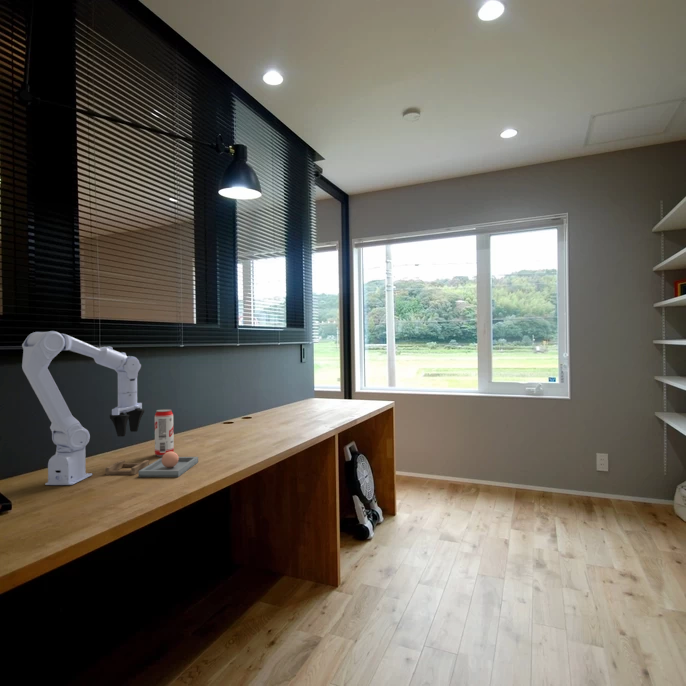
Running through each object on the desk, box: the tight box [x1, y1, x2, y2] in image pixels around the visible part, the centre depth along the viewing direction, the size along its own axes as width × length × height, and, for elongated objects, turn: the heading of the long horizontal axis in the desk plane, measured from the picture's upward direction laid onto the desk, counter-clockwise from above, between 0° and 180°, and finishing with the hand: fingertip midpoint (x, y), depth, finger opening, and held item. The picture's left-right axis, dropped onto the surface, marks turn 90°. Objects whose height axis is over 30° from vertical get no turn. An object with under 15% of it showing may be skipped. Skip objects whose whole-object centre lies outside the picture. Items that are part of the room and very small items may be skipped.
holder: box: [104, 459, 150, 476], centre depth 133 cm, size 9×9×2 cm
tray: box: [138, 456, 199, 478], centre depth 134 cm, size 16×12×2 cm
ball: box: [161, 451, 180, 468], centre depth 134 cm, size 5×5×5 cm
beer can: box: [154, 408, 175, 458], centre depth 152 cm, size 6×6×16 cm
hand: (127, 433), depth 139 cm, fingers open, 7 cm apart
